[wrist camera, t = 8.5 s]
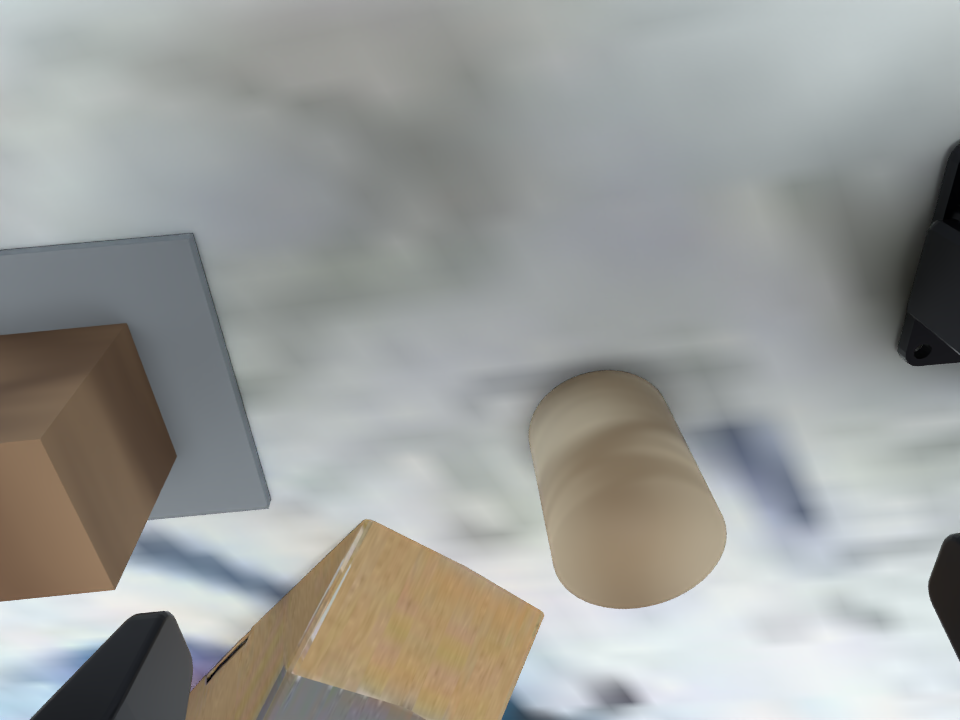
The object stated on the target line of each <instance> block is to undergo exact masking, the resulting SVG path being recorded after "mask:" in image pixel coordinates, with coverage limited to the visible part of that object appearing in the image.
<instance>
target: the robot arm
mask: <svg viewBox="0 0 960 720" xmlns="http://www.w3.org/2000/svg"><path fill="white" fill-rule="evenodd" d="M922 344H923V345H922ZM920 345H922V347H921V348H920V349H919V350H917V351H915V349H916V348H917V347H919V346H920ZM914 351H915V352H914ZM898 353H899V355H900V356H901V357H902V358H903V359H904V360H905V361H906V362H907V363H909V364H910V365H912V366H925V365H936V364H946V363H957V362H960V144H959V145H958V146H957V147H956V148H955V149H954V150H953V151H952V153H951V155H950V157H949V160H948V163H947V167H946V171H945V174H944V178H943V182H942V185H941V189H940V193H939V196H938V200H937V204H936V207H935V211H934V215H933V219H932V222H931V226H930V228H929V230H928V232H927V235H926V239H925V243H924V247H923V250H922V254H921V258H920V261H919V265H918V269H917V273H916V276H915V280H914V284H913V287H912V291H911V295H910V298H909V302H908V306H907V315H906V318H905V322H904V326H903V329H902V333H901V337H900V340H899V344H898ZM928 590H929V596H930V600H931V602H932V605H933V607H934V609H935V611H936V613H937V615H938V617H939V620H940V622H941V624H942V626H943V628H944V630H945V632H946V634H947V636H948V638H949V640H950V642H951V644H952V647H953V649H954V651H955V653H956V655H957V657H958V659H959V661H960V533H956V534H951V535H949V536H948V537H947V538H946V539H945V540H944V541H943V543H942V546H941V549H940V551H939V554H938V557H937V560H936V562H935V565H934V568H933V570H932V573H931V576H930V578H929V583H928ZM192 674H193V664H192V657H191V654H190V651H189V649H188V647H187V645H186V642H185V640H184V638H183V635H182V633H181V631H180V628H179V626H178V624H177V622H176V619H175V618H174V616H173V615H172V614H171V613H170V612H167V611H159V612H149V613H140V614H135V615H133V616H132V617H130V618H129V619H127V620H126V621H125V622H124V623H123V624H122V625H121V626H120V627H119V628H118V629H117V630H116V631H115V632H114V633H113V634H112V635H111V636H110V638H109V639H108V640H107V641H106V642H105V643H104V644H103V645H102V646H101V647H100V648H99V649H98V650H97V651H96V652H95V653H94V654H93V655H92V656H91V657H90V658H89V659H88V660H87V661H86V662H85V663H84V664H83V665H82V666H81V667H80V668H79V669H78V670H77V671H76V672H75V674H74V675H73V676H72V677H71V678H70V679H69V680H68V681H67V682H66V683H65V684H64V685H63V686H62V687H61V688H60V689H59V690H58V691H57V692H56V693H55V694H54V695H53V696H52V697H51V698H50V699H49V700H48V701H47V702H46V703H45V704H44V705H43V706H42V707H41V708H40V709H39V711H38V712H37V713H36V714H35V715H34V716H33V717H32V718H31V719H30V720H186V713H187V707H188V701H189V694H190V688H191V682H192Z"/></svg>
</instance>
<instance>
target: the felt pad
mask: <svg viewBox="0 0 960 720" xmlns="http://www.w3.org/2000/svg"><path fill="white" fill-rule="evenodd" d="M121 323H127V325H128V328H129V330H130V333H131V335H132V338H133V341H134V343H135V346H136V349H137V351H138V354H139V357H140V359H141V362H142V365H143V367H144V370H145V373H146V375H147V378H148V380H149V383H150V386H151V388H152V391H153V394H154V396H155V399H156V402H157V404H158V407H159V410H160V412H161V415H162V418H163V420H164V423H165V425H166V428H167V431H168V433H169V436H170V439H171V441H172V444H173V447H174V449H175V452H176V455H177V458H176V460H175V462H174V464H173V466H172V468H171V471H170V473H169V475H168V477H167V479H166V481H165V484H164V486H163V488H162V490H161V492H160V494H159V496H158V499H157V501H156V503H155V505H154V507H153V509H152V511H151V514H150V516H149V518H148V520H154V519H165V518H175V517H185V516H196V515H206V514H217V513H227V512H238V511H248V510H259V509H269V505H270V501H271V499H270V495H269V492H268V488H267V485H266V482H265V478H264V475H263V471H262V468H261V465H260V461H259V458H258V454H257V451H256V448H255V444H254V441H253V437H252V434H251V431H250V427H249V424H248V420H247V417H246V413H245V410H244V407H243V403H242V400H241V396H240V393H239V390H238V386H237V383H236V379H235V376H234V373H233V369H232V366H231V362H230V359H229V356H228V352H227V349H226V345H225V342H224V339H223V335H222V332H221V328H220V325H219V322H218V318H217V315H216V311H215V308H214V304H213V301H212V298H211V294H210V291H209V287H208V284H207V281H206V277H205V274H204V270H203V267H202V264H201V260H200V257H199V253H198V250H197V247H196V243H195V240H194V236H193V233H190V234H179V235H167V236H156V237H145V238H133V239H122V240H111V241H99V242H88V243H77V244H66V245H54V246H43V247H32V248H20V249H9V250H0V335H8V334H18V333H28V332H39V331H49V330H59V329H70V328H80V327H90V326H101V325H111V324H121Z"/></svg>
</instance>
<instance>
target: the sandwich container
mask: <svg viewBox="0 0 960 720" xmlns="http://www.w3.org/2000/svg"><path fill="white" fill-rule="evenodd" d="M543 617H544V613H543V612H542V611H540V610H539V609H537V608H535V607H534V606H532V605H530V604H529V603H527V602H525V601H523V600H522V599H520V598H518V597H517V596H515V595H513V594H511V593H510V592H508V591H506V590H505V589H503V588H501V587H500V586H498V585H496V584H494V583H493V582H491V581H489V580H488V579H486V578H484V577H482V576H481V575H479V574H477V573H476V572H474V571H472V570H471V569H469V568H467V567H465V566H464V565H462V564H459V563H457V562H455V561H453V560H451V559H449V558H447V557H445V556H443V555H441V554H439V553H437V552H435V551H433V550H431V549H429V548H427V547H425V546H423V545H421V544H419V543H417V542H415V541H413V540H411V539H409V538H407V537H405V536H403V535H401V534H399V533H397V532H395V531H393V530H391V529H389V528H387V527H385V526H383V525H381V524H379V523H377V522H375V521H372V520H368V519H365V520H363V521H362V522H361V523H360V524H359V525H358V526H357V527H356V528H355V529H354V530H353V531H352V532H351V533H350V534H349V535H348V536H347V537H346V538H344V539H343V540H342V541H341V542H340V543H339V544H338V545H337V546H336V547H335V548H334V549H333V550H332V551H331V552H330V553H329V554H328V555H327V556H326V557H325V558H324V559H323V560H322V561H321V562H320V563H318V564H317V565H316V566H315V567H314V568H313V569H312V570H311V571H310V572H309V573H308V574H307V575H306V576H305V577H304V578H303V579H302V580H301V581H300V582H299V583H298V584H297V585H296V586H295V587H294V588H293V589H291V590H290V591H289V592H288V593H287V594H286V595H285V596H284V597H283V598H282V599H281V600H280V601H279V602H278V603H277V604H276V605H275V606H274V607H273V608H272V609H271V610H270V611H269V612H268V613H267V614H266V615H264V616H263V617H262V618H261V619H260V620H259V621H258V622H257V623H256V624H255V625H254V626H253V627H252V629H251V631H250V632H249V633H248V634H247V635H245V636H244V637H243V638H242V639H241V640H240V641H239V642H238V643H237V644H236V645H235V646H234V647H233V648H232V649H231V650H230V651H229V652H228V653H227V654H226V655H225V656H224V657H223V658H222V659H221V660H220V661H219V663H218V664H217V665H216V666H215V667H214V668H213V669H212V670H211V671H210V672H209V673H208V674H207V676H204V677H203V678H202V680H201V681H200V682H199V683H198V684H197V685H196V687H195V688H194V689H193V690H192V691H191V692H190V694H189V701H188V707H187V713H186V720H501V719H502V716H503V714H504V712H505V709H506V707H507V704H508V702H509V699H510V697H511V695H512V692H513V690H514V687H515V685H516V683H517V680H518V678H519V675H520V673H521V670H522V668H523V666H524V663H525V661H526V658H527V656H528V654H529V651H530V649H531V646H532V644H533V641H534V639H535V637H536V634H537V632H538V629H539V627H540V625H541V622H542V620H543ZM247 638H248V640H247V642H245V643H244V644H243V645H242V646H241V647H240V648H239V649H238V650H237V651H236V652H235V653H234V654H233V655H232V656H231V657H230V658H229V659H228V660H227V661H226V662H225V663H224V664H223V665H222V666H221V667H220V668H219V669H218V670H217V672H216V673H215V674H214V676H213V677H212V678H211V680H210V681H209V682H208V684H207V679H209V677H210V676H211V675H212V673H213V672H214V671H215V670H216V668H217V667H218V666H219V665H220V664H221V663H222V662H223V661H224V660H225V659H226V658H227V657H228V656H229V655H230V654H231V653H232V652H233V651H234V650H235V649H236V648H237V647H238V646H239V645H240V644H241V643H242V642H243V641H244V640H246V639H247Z"/></svg>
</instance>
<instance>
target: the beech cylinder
mask: <svg viewBox="0 0 960 720" xmlns="http://www.w3.org/2000/svg"><path fill="white" fill-rule="evenodd" d="M529 444H530V449H531V454H532V460H533V465H534V470H535V475H536V480H537V485H538V490H539V495H540V500H541V505H542V510H543V515H544V520H545V525H546V530H547V535H548V540H549V545H550V550H551V556H552V561H553V566H554V569H555V572H556V575H557V577H558V578H559V580H560V582H561V583H562V584H563V586H564V587H565V588H566V589H567V590H568V591H570V592H571V593H572V594H573V595H575V596H576V597H578V598H580V599H582V600H584V601H586V602H588V603H591V604H594V605H598V606H602V607H607V608H615V609H631V608H641V607H647V606H652V605H656V604H659V603H663V602H666V601H668V600H671V599H673V598H675V597H678V596H680V595H682V594H683V593H685V592H687V591H689V590H690V589H692V588H693V587H695V586H696V585H697V584H699V583H700V582H701V581H702V580H703V579H704V578H705V577H706V576H707V575H708V574H709V573H710V572H711V571H712V570H713V569H714V567H715V566H716V565H717V563H718V561H719V560H720V558H721V556H722V553H723V551H724V548H725V544H726V535H727V532H726V525H725V521H724V518H723V516H722V514H721V512H720V510H719V508H718V506H717V504H716V502H715V500H714V498H713V496H712V494H711V492H710V490H709V488H708V486H707V484H706V482H705V480H704V478H703V476H702V474H701V472H700V470H699V468H698V466H697V464H696V462H695V460H694V458H693V456H692V454H691V452H690V450H689V448H688V446H687V444H686V442H685V440H684V438H683V436H682V434H681V432H680V430H679V428H678V426H677V424H676V422H675V420H674V418H673V416H672V414H671V412H670V410H669V408H668V406H667V404H666V402H665V400H664V398H663V396H662V395H661V393H660V392H659V391H658V390H657V389H656V388H655V387H654V386H653V385H652V384H651V383H649V382H648V381H646V380H645V379H643V378H641V377H639V376H637V375H634V374H631V373H628V372H623V371H614V370H601V371H594V372H588V373H585V374H581V375H578V376H576V377H573V378H571V379H569V380H567V381H565V382H563V383H561V384H560V385H558V386H557V387H555V388H554V389H553V390H552V391H551V392H549V393H548V394H547V395H546V396H545V397H544V399H543V400H542V401H541V402H540V404H539V405H538V406H537V408H536V410H535V412H534V414H533V416H532V419H531V421H530V426H529Z"/></svg>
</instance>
